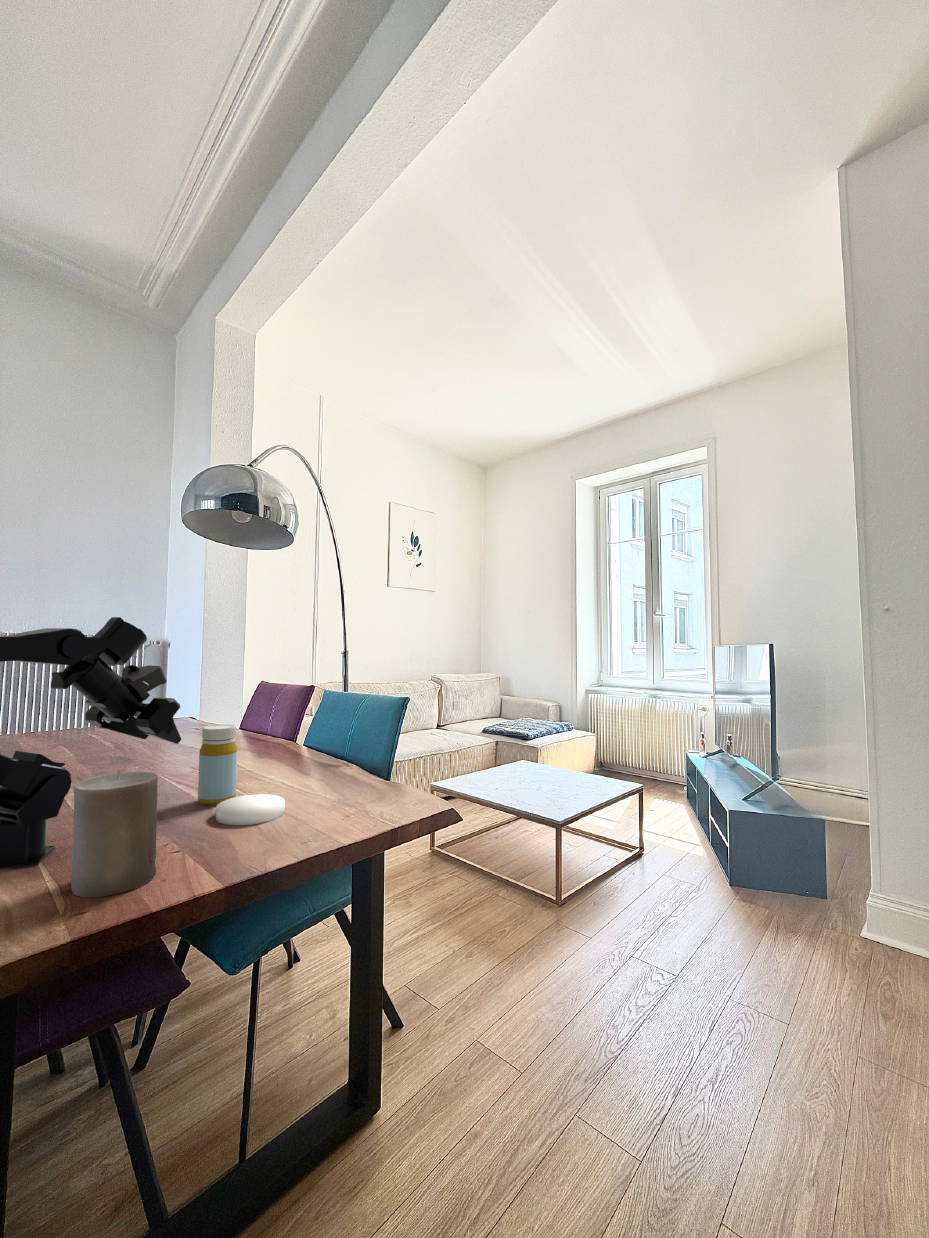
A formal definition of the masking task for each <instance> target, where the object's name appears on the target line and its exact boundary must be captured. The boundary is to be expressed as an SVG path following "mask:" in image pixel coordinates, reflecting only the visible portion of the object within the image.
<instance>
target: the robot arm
mask: <svg viewBox="0 0 929 1238" xmlns="http://www.w3.org/2000/svg"><path fill="white" fill-rule="evenodd" d="M147 638H148V637H147V635H146V633H145V631H143V630H142V629H141V628H138V627H137V626H135V625H134V624H132V623H130V622H127V621H125V620H124V619H123V618H122V617H121V616H112V617H111V618H109V619H108V620H107V622H106V623H105V625H104V626H103V627H102V628H100V629H99V631H97V632H96V633H95V634H94V635H93V636H86V635H85V634H84V633H83V632H82V631H81V630H80V629H78V628H66V627H65V628H62V627H61V628H57V627H55V628H53V627H52V628H48V627H47V628H40V629H34V630H28V631H23V632H18V633H14V634H9V635H2V636H1V635H0V662H20V663H27V664H38V665H39V664H41V665H54V666H55V665H57V666H58V665H59V666H61V665H63V666H66V667H64V668H63V669H62V670H61V671H52V672H51V676H52V677H51V678H52V679H51V682H50V688H51V689H52V690H68V689H69V688H70V686H72V687H73V688H74V689H75V690H76V691H78V692H79V693H80V694H81V695H82V696H84V698H86V699H87V700H86V701H84V702H85V703H86V705H88V706H89V707H90V708H89V709H88V710H87V711H86V712H85V719H84V720H85V721H86V722H87V723H89V724H90V725H91V727H98V728H100V729H102V730H106V731H107V730H108V731H110V732H114V733H118V734H122V735H126V736H129V737H134V738H138V739H141V740H147V739H148V737H149V736H151V737H154V738H157V739H160V740H163V741H166V742H169V743H173V744H176V745H178V744H180V743H181V741H182V737H181V735H180V733H179V731H178V728H177V726H176V722H175V721H174V716H175V715H176V714H177V713H178V711H179V710H180V709H181V704H180V703H179V701H177V700H176V699H175V698H174V697H163V696H160V697H153V699H152V700H151V701H150V702H149V703H146V702H145V703H144V701H146V700H147V699H148V698H149V697H150V696H151V694H150V693H149V692H150V691H152V690H154V689H155V688H157V687H159V686H161V685H164V684H166V683H168V682H167V681H168V680H167V678H166V676H165V674H164V671H163V669H162V666H160V665H145V666H144V665H142V666H137V665H136V664H128V665H126V663H127V662H129V660H130V659H131V658H132V657H133V656H134V655H135V654H136V653H137V652H138V651H139V650H140V649H141V647H142V646H144V644H145V643H147V641H148V639H147ZM116 665H117V666H124V665H126V666H124V667H123V668H122V675H121V676H120V675H119V674H118V673H116V671H115V670H114V669H113V668H111V667H114V666H116ZM65 765H66V763H65V762H60V761H54V760H51V759H49V758H48V757H47V756H45V755H43V754H41V753H35V752H28V751H20V750H15V751H14V753H13V756H12V757H9V756H6V755H4V754H1V753H0V869H1V870H2V869H8V868H9V869H10V868H17V867H18V868H19V867H27V866H35V865H39V864H40V863H41V862H42V861H43V860H44V859H45V858H46V857H48V856H49V855H50V854H51V853H52V852H53V851H54V850H55V849H56V845H47V829H48V827H47V826H48V820H49V819H52V818H56V817H58V816H59V813H60V810H61V808H62V805H63V803H64V800H65V797H66V796H67V795H68V793H70V789H71V787H72V774H71V772H70V771H69V770H67V769H66V768H64V766H65Z"/></svg>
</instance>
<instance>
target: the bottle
mask: <svg viewBox="0 0 929 1238" xmlns="http://www.w3.org/2000/svg"><path fill="white" fill-rule="evenodd" d="M236 731H237V730H236V725H235V724H209V725H205V726H202V731H201V732H202V733H201V736H202V737H201V738H202V740H201V743H202V744H201V746H200V749H199V754H198V784H197V785H198V787H197V799H198V800H197V801H198V802H199V803H200V804H202V805H203V804H205V805H204V806H217V805H218V804H219V803H221V802H223V801H225V800H228V799H231V798H235V797H237V774H238V773H237V770H238V769H237V768H238V767H237V766H238V765H237V764H238V747H237V744H236Z"/></svg>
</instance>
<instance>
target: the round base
mask: <svg viewBox="0 0 929 1238" xmlns="http://www.w3.org/2000/svg"><path fill="white" fill-rule="evenodd" d="M285 801H286V800H285V798H284V797H283V796H280V795H275V794H267V793H264V794H263V793H261V794H246V795H240V796H235V798H231V799H228V800H225V801H223V802H221V803H219V804H218V805H215V806H216V807H215V820H216V822H218V823H219V824H222V825H227V826H250V825H256V824H257V825H259V824H263V823H266V822H267V823H268V822H271V821H275V820H276V819H279V818H280V817H281V816H283V815H284V814H285V810H286V809H285V803H286V802H285Z"/></svg>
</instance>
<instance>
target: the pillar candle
mask: <svg viewBox="0 0 929 1238" xmlns="http://www.w3.org/2000/svg"><path fill="white" fill-rule="evenodd" d="M158 778H159V777H158V774H157V773H155V772H152V771H123V772H121V769H118V770H117V772H114V773H109V774H103V775H102V774H101V775H98V776H93V777H89V778H87V779H84V780H80V781H78V782H77V783H76V784H74V785H73V790H74V792H73V793H74V794H73V800H74V801H73V827H72V828H73V829H72V832H73V833H72V851H71V853H72V855H71V856H72V857H71V860H72V861H71V884H70V885H71V886H70V887H71V892H72V894H73V895H75V896H77V897H82V898H87V899H88V898H100V897H107V896H113V895H115V894H119V893H121V894H122V893H124V892H127V891H132V890H134V889H138V888H139V887H142V886H143V885H146V884H147V883H150V881H152V880H153V879H154V878H155V877H156V875H157V871H156V870H157V867H156V858H157V828H158V827H157V825H158V824H157V823H158Z"/></svg>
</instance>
